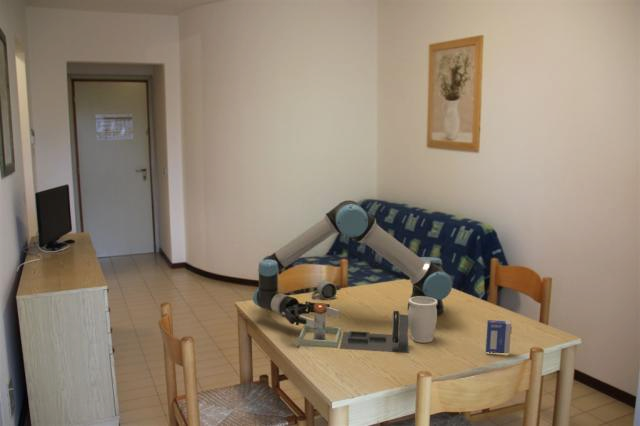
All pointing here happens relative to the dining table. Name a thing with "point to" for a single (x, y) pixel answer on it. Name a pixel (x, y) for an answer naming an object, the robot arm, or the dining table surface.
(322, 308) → the copper-capped metal cylinder
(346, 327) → the dining table surface
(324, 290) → the ceramic mug
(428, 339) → the jar
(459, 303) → the dining table surface
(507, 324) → the walkman
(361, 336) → the pulley plate
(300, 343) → the tray
